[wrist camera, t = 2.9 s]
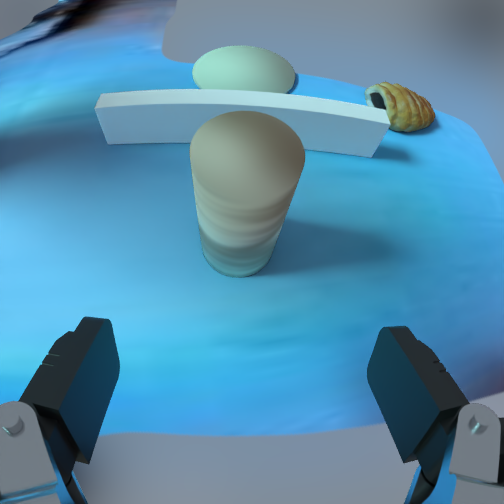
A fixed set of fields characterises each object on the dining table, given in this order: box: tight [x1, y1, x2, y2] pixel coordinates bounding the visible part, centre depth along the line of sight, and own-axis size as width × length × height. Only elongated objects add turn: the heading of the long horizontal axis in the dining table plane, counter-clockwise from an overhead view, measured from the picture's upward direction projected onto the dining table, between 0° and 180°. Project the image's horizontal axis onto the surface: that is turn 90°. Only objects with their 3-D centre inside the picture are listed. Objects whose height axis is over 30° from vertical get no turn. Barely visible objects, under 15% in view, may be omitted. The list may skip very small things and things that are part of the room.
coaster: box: [192, 46, 295, 94], centre depth 33 cm, size 12×12×1 cm
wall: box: [94, 89, 391, 158], centre depth 27 cm, size 26×2×5 cm, turn 90°
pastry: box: [365, 82, 435, 132], centre depth 32 cm, size 9×7×4 cm
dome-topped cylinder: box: [189, 111, 305, 277], centre depth 20 cm, size 6×6×11 cm
